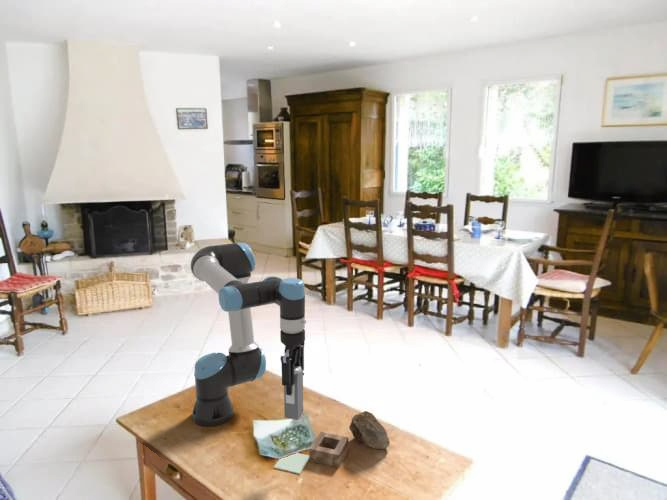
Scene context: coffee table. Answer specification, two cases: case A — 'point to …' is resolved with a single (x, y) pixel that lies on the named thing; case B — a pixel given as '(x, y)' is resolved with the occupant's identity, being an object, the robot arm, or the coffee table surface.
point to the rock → (369, 431)
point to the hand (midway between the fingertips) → (293, 398)
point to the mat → (293, 463)
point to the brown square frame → (329, 449)
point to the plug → (295, 409)
